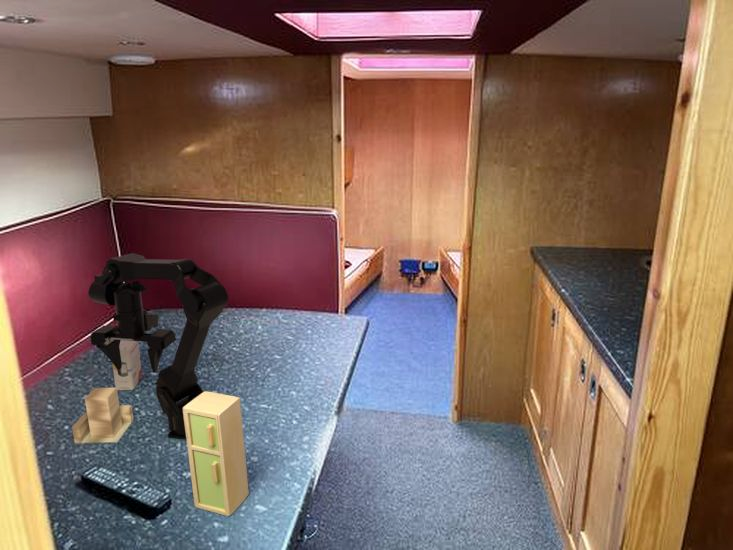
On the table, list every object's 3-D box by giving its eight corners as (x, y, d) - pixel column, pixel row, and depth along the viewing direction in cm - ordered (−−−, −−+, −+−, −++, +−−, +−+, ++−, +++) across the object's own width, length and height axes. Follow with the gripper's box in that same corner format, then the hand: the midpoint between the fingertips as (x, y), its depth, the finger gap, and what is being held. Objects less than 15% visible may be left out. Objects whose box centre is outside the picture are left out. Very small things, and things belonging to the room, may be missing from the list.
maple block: (122, 426, 131) (116, 387, 128) (113, 437, 126) (107, 398, 123) (100, 426, 130) (94, 387, 128) (90, 438, 126) (83, 398, 123)
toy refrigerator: (190, 510, 103) (179, 408, 97) (214, 486, 109) (205, 389, 104) (227, 520, 100) (217, 416, 94) (249, 495, 107) (241, 397, 101)
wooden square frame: (133, 420, 134) (131, 405, 132) (117, 442, 124) (115, 426, 123) (93, 420, 133) (91, 405, 132) (74, 443, 124) (72, 427, 123)
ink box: (125, 376, 156) (119, 337, 153) (143, 376, 156) (138, 337, 153) (114, 391, 148) (108, 350, 144) (134, 390, 148) (129, 349, 145)
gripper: (183, 299, 134) (189, 359, 138) (113, 296, 137) (121, 354, 141) (159, 315, 124) (167, 379, 128) (84, 311, 127) (93, 373, 131)
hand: (137, 370), depth 132 cm, fingers open, 9 cm apart
